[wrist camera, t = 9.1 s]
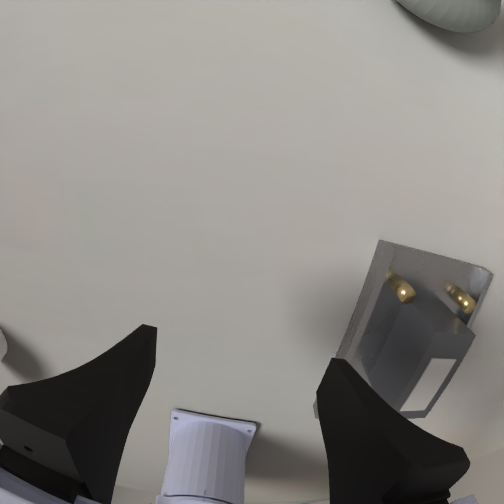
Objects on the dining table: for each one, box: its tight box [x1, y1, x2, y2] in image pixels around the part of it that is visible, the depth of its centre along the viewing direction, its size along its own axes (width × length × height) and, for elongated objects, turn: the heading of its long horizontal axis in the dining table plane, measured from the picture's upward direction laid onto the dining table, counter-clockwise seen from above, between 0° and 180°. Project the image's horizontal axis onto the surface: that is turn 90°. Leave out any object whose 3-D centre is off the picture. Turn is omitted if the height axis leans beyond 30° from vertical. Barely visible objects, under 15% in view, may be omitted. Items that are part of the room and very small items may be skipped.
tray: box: [313, 240, 494, 419], centre depth 22 cm, size 16×11×3 cm
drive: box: [368, 298, 476, 419], centre depth 21 cm, size 8×4×5 cm, turn 168°
